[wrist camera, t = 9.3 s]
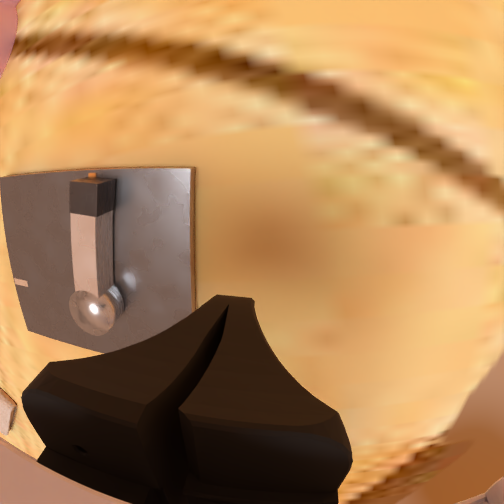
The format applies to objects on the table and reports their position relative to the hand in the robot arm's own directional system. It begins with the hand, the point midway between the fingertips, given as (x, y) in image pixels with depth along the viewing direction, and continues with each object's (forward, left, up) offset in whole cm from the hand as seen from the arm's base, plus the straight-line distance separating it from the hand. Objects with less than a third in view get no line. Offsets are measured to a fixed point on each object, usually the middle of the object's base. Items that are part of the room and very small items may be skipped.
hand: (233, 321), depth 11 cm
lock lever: (-1, +11, -8) cm, 14 cm away
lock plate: (-3, +13, -9) cm, 16 cm away
